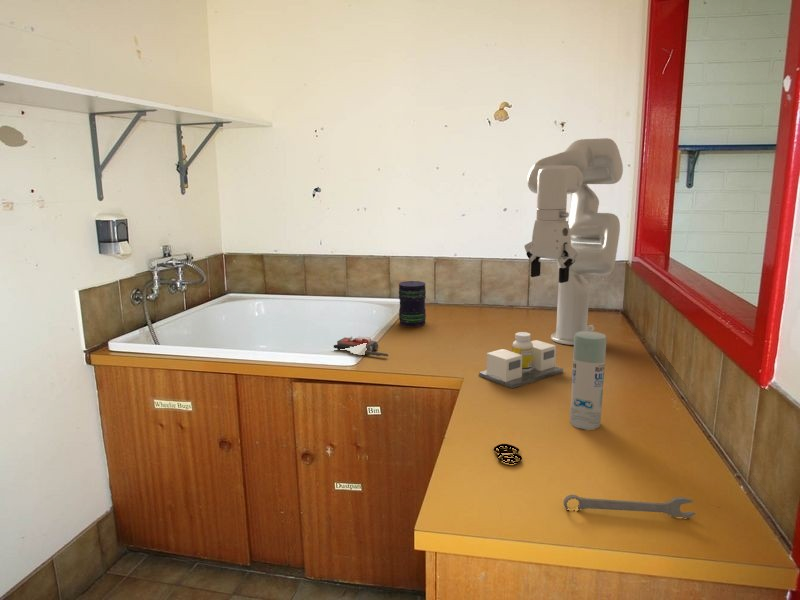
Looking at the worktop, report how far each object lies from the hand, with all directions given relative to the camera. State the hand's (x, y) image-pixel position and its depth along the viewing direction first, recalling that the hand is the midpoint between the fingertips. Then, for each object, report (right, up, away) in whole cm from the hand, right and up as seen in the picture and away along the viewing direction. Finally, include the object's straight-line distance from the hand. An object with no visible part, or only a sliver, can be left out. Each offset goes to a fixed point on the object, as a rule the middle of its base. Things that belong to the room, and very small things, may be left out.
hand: (549, 279), depth 153 cm
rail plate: (-7, -26, +1) cm, 27 cm away
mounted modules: (-7, -25, +1) cm, 26 cm away
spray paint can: (0, -33, -30) cm, 44 cm away
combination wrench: (-4, -40, -63) cm, 75 cm away
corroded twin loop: (-19, -36, -44) cm, 60 cm away
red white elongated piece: (-51, -22, +23) cm, 60 cm away
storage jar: (-36, -14, +55) cm, 67 cm away
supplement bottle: (-7, -24, +1) cm, 26 cm away
